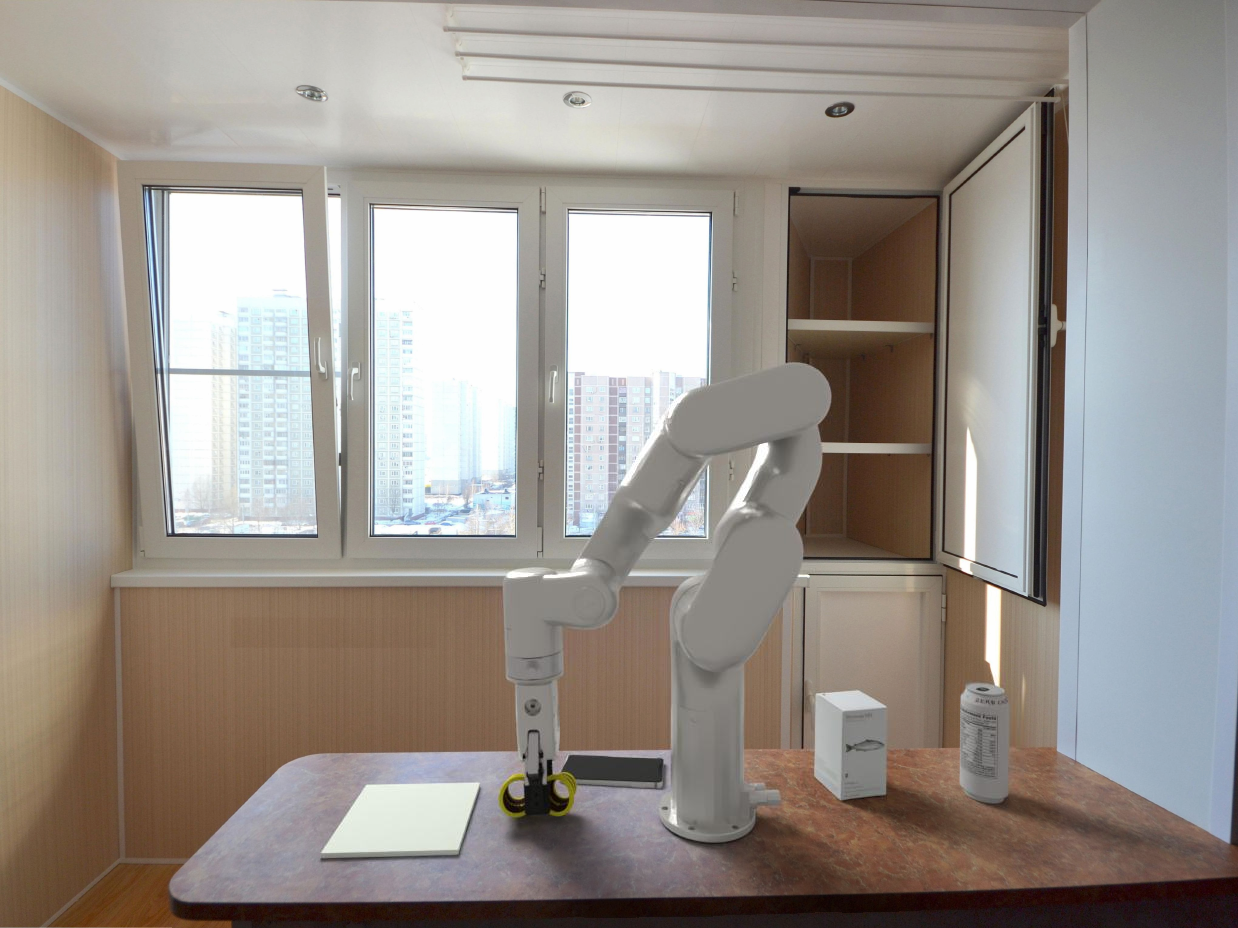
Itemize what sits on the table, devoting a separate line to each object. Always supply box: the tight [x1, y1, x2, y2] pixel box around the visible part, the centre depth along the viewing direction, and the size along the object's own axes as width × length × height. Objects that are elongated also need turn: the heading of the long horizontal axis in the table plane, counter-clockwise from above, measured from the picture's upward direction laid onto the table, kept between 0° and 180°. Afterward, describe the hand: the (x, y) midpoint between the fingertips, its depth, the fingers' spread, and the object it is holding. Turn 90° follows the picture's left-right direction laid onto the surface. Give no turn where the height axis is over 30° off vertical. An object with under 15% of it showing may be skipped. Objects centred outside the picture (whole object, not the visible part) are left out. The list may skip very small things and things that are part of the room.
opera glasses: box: [498, 772, 578, 818], centre depth 86 cm, size 10×5×5 cm, turn 89°
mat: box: [320, 781, 481, 859], centre depth 86 cm, size 16×16×1 cm
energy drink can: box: [959, 681, 1011, 804], centre depth 92 cm, size 6×6×15 cm
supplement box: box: [813, 689, 888, 801], centre depth 94 cm, size 7×7×13 cm
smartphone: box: [558, 754, 665, 789], centre depth 98 cm, size 8×1×15 cm
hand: (539, 799), depth 86 cm, fingers closed on opera glasses, 5 cm apart
